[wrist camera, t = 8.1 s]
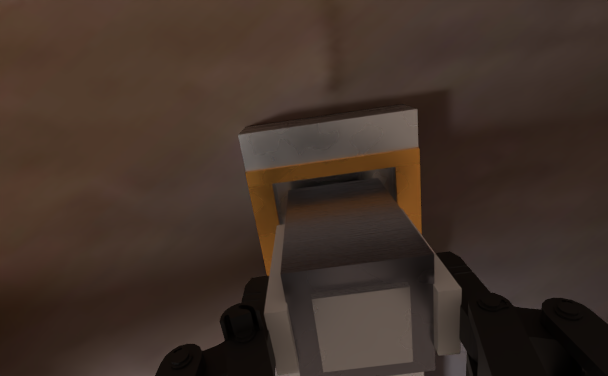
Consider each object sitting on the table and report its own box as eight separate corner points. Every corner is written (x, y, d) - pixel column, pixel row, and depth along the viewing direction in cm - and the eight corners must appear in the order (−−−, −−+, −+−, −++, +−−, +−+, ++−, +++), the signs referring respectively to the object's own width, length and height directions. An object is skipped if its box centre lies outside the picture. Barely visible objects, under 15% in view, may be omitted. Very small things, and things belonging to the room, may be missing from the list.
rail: (310, 451, 28) (311, 487, 26) (245, 127, 19) (237, 135, 16) (416, 440, 28) (427, 475, 25) (403, 104, 18) (418, 109, 16)
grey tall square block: (301, 266, 20) (302, 393, 12) (288, 190, 18) (279, 279, 10) (383, 256, 20) (438, 377, 12) (377, 177, 18) (437, 259, 10)
